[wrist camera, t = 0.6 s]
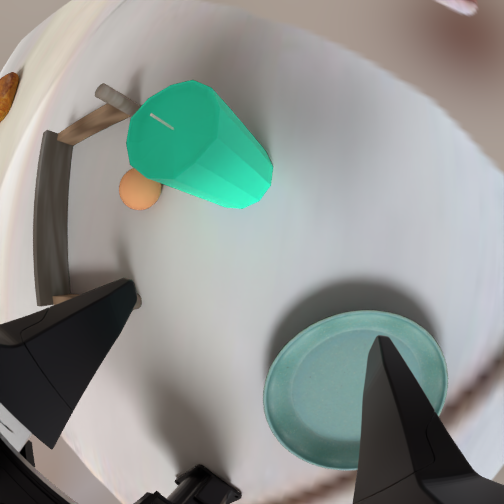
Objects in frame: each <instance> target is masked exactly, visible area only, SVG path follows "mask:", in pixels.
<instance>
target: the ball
mask: <svg viewBox="0 0 504 504" xmlns="http://www.w3.org/2000/svg"><path fill="white" fill-rule="evenodd" d="M119 193H120V197H121V199H122V201H123V202H124V204H125V205H127V206H128V207H130V208H132V209H135V210H144V209H147V208H149V207H151V206H152V205H153V204H155V202H156V201H157V200H158V198H159V196H160V193H161V183H159V182H156V181H153V180H150V179H147V178H146V177H144V176H143V175H142V174H141V173H140V172H138V171H137V170H136V169H135V168H133V169H131V170H129V171H128V172H127V173H126V174H125V175H124V176H123V177H122V179H121V182H120V185H119Z"/></svg>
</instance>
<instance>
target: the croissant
mask: <svg viewBox="0 0 504 504" xmlns="http://www.w3.org/2000/svg"><path fill="white" fill-rule="evenodd" d="M18 80H19V77H18V75H17V74H16V73H14V72H11V73H9V74H7V75H5V76H4V77H2V78H1V79H0V122H1V121H2V120H3V119H4V117H5V116H6V115H7V114H8V112H9V110H10V108H11V105H12V102H13V99H14V96H15V93H16V90H17V85H18V82H19V81H18Z"/></svg>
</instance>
